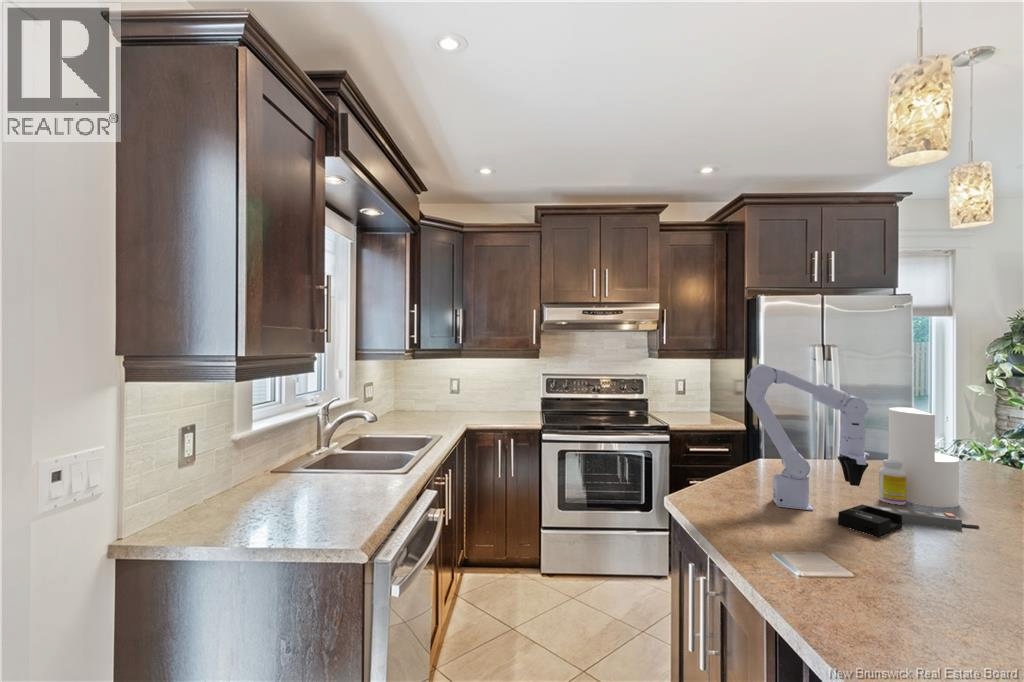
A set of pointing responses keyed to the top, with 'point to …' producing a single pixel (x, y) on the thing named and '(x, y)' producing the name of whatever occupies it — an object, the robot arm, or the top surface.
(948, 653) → the top surface
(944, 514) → the power strip
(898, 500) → the supplement bottle
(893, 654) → the top surface
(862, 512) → the battery charger
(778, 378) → the robot arm
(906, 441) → the white stepped block
